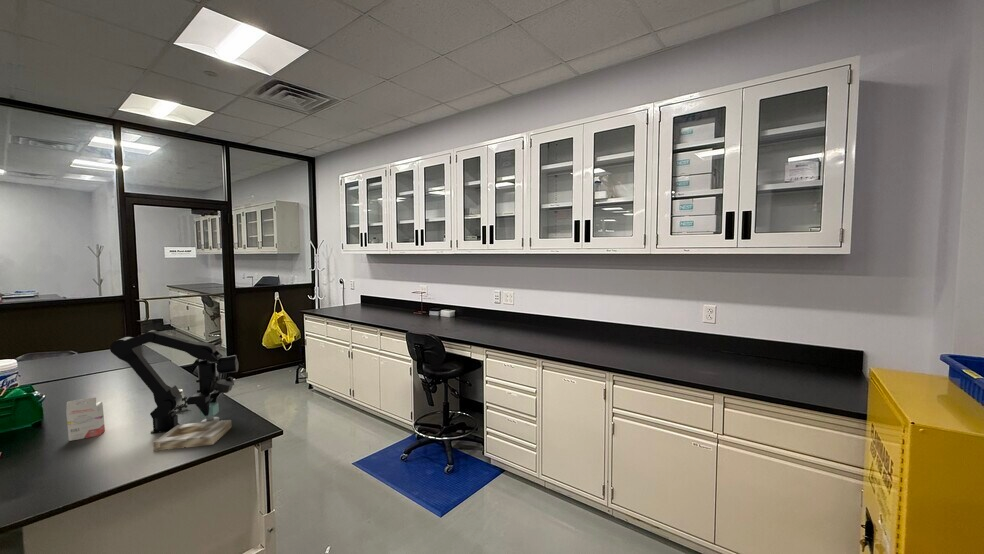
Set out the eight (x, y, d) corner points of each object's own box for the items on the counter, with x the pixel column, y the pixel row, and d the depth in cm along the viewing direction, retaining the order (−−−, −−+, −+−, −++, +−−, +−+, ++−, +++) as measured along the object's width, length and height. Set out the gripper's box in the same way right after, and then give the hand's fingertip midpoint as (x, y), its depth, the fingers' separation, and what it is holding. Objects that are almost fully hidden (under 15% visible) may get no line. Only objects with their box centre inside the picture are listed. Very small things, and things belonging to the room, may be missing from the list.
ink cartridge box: (105, 430, 147) (102, 393, 146) (99, 435, 142) (96, 397, 141) (74, 435, 143) (71, 397, 142) (67, 441, 138) (64, 401, 137)
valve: (169, 405, 171) (170, 413, 163) (168, 391, 171) (169, 398, 162) (187, 401, 176) (190, 408, 167) (186, 387, 176) (189, 394, 167)
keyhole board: (153, 451, 130) (153, 442, 130) (178, 432, 143) (177, 424, 143) (213, 444, 133) (212, 435, 133) (231, 427, 147) (231, 419, 147)
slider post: (197, 425, 149) (196, 408, 149) (205, 419, 155) (204, 402, 155) (214, 424, 150) (213, 406, 150) (222, 418, 156) (221, 401, 156)
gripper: (218, 380, 144) (220, 420, 145) (240, 367, 162) (242, 402, 163) (185, 383, 142) (187, 424, 143) (210, 369, 160) (212, 405, 161)
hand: (209, 413), depth 152 cm, fingers closed on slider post, 4 cm apart
